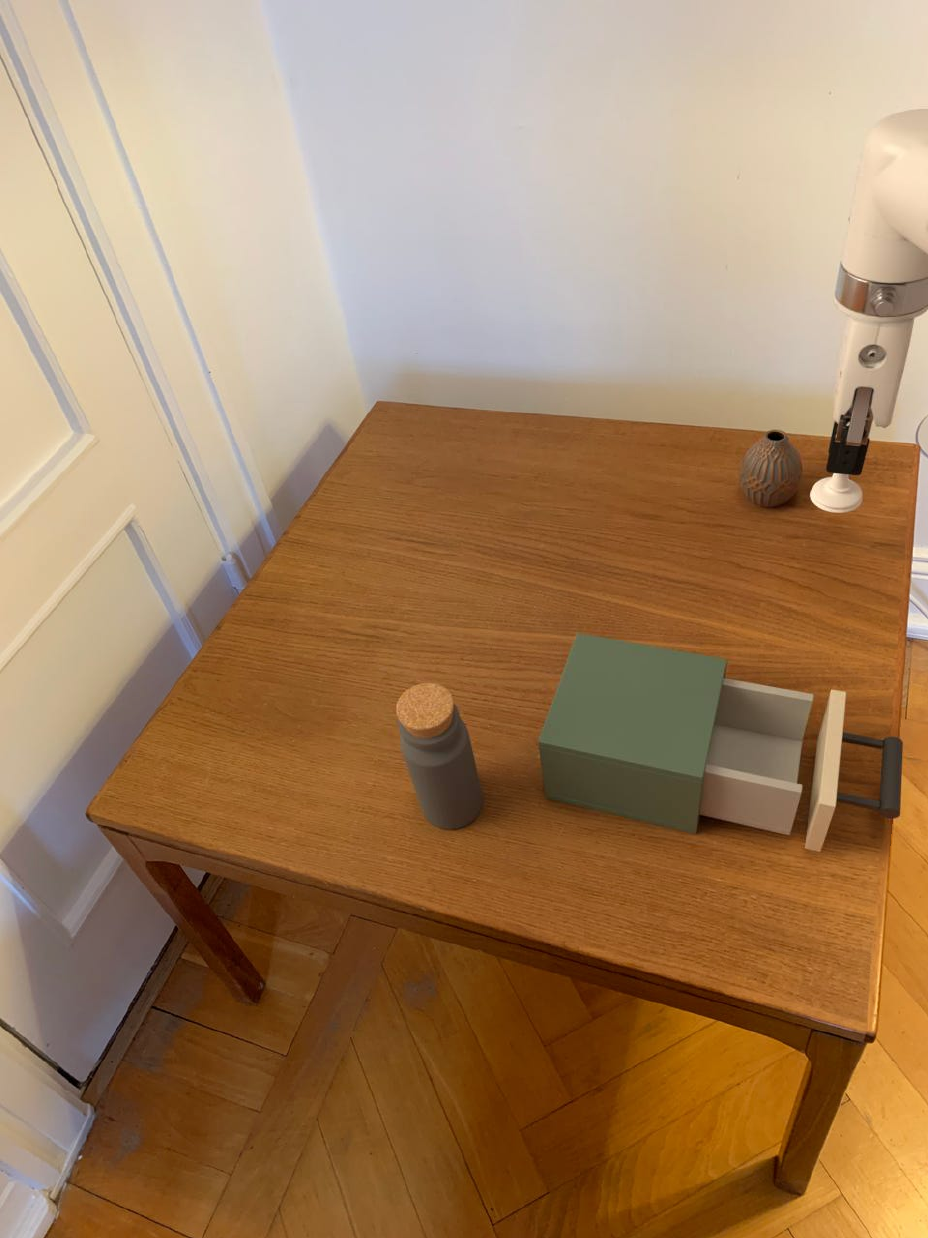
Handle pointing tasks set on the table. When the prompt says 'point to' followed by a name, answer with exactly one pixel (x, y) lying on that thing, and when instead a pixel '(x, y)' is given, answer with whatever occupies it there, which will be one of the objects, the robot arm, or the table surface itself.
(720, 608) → the table surface
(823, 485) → the chess piece
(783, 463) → the vase
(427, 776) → the bottle
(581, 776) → the cabinet
